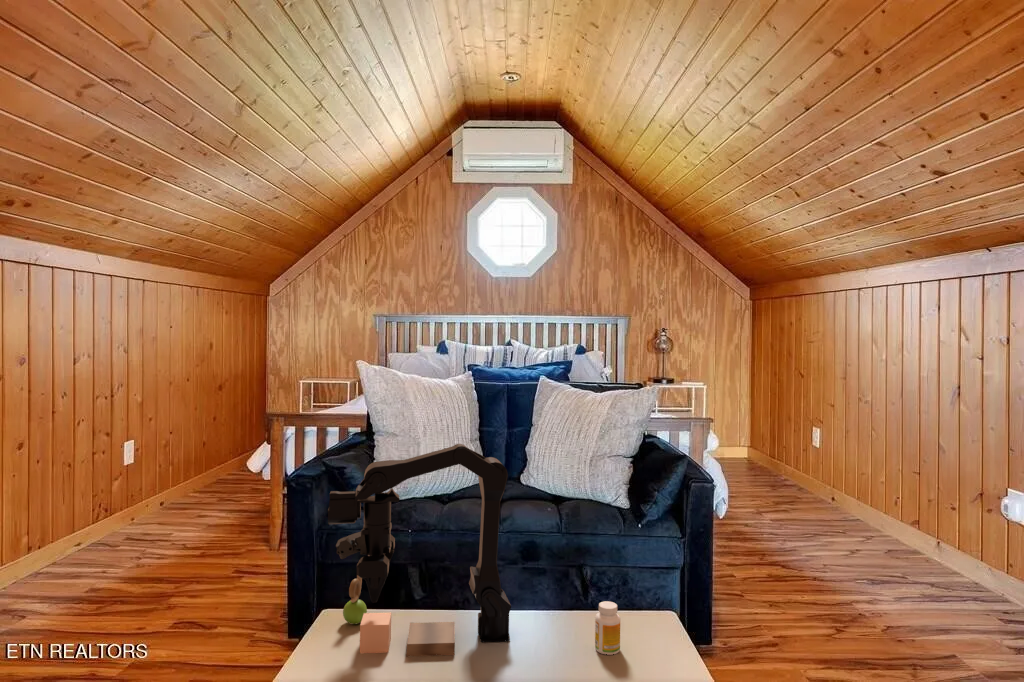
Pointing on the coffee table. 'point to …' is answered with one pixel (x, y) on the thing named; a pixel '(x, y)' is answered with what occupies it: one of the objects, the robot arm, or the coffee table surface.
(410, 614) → the coffee table surface
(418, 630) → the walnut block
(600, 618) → the supplement bottle
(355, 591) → the snail figurine
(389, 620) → the terracotta cube
